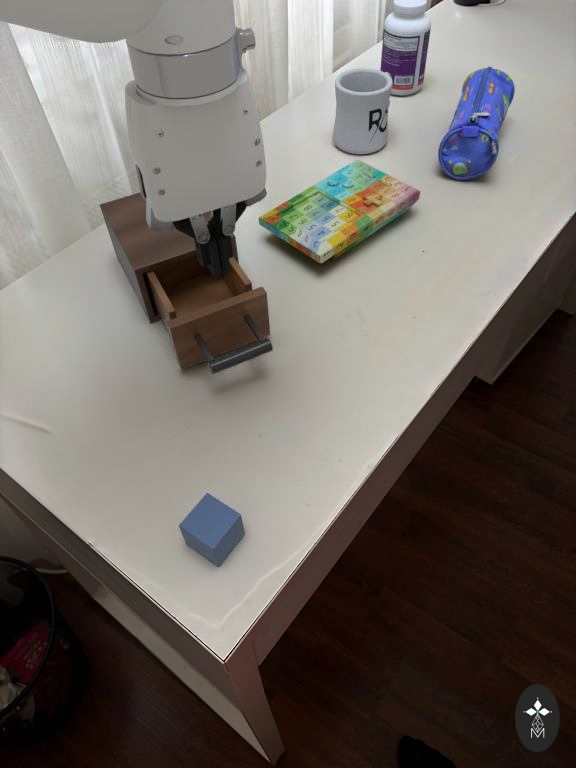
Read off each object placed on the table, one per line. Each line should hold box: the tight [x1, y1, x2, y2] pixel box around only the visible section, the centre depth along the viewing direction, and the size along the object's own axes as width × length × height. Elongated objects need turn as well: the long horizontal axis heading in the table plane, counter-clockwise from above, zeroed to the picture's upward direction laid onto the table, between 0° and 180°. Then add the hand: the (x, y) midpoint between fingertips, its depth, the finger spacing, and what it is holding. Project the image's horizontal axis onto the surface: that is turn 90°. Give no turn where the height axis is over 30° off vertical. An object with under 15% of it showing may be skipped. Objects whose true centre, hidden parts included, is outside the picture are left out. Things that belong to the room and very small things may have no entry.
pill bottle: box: [379, 0, 432, 96], centre depth 104 cm, size 8×8×14 cm
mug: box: [332, 67, 393, 155], centre depth 95 cm, size 12×9×10 cm
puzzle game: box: [258, 159, 421, 264], centre depth 83 cm, size 12×5×20 cm
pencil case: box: [437, 66, 516, 181], centre depth 92 cm, size 22×9×10 cm, turn 160°
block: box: [178, 492, 246, 568], centre depth 54 cm, size 4×4×4 cm
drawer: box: [143, 255, 274, 375], centre depth 68 cm, size 19×11×7 cm, turn 27°
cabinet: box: [99, 191, 240, 324], centre depth 76 cm, size 15×13×9 cm
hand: (216, 266), depth 56 cm, fingers closed
